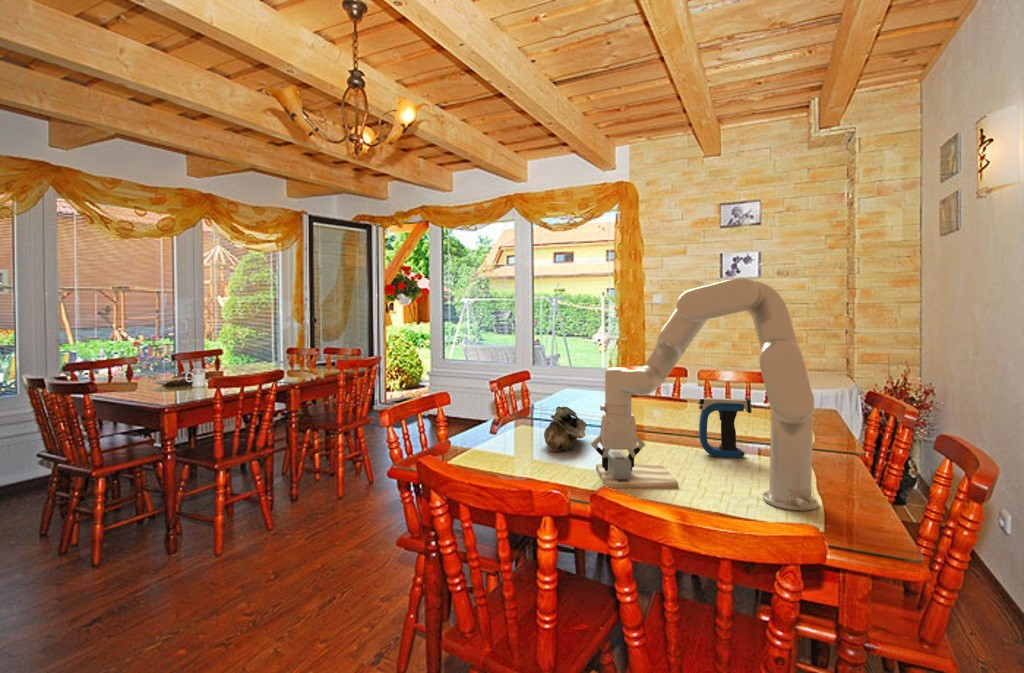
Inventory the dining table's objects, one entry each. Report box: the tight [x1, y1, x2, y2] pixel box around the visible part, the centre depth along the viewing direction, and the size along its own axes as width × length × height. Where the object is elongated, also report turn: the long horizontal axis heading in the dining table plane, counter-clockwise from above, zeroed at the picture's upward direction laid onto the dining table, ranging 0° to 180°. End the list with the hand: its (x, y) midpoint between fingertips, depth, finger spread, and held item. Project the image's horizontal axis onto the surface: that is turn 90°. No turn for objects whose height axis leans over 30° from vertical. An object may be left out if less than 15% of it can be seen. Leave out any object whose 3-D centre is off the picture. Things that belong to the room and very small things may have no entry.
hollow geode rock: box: [543, 406, 588, 453], centre depth 200 cm, size 28×13×15 cm
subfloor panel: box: [595, 462, 679, 489], centre depth 161 cm, size 18×20×2 cm
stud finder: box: [607, 450, 631, 479], centre depth 161 cm, size 12×5×5 cm, turn 0°
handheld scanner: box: [698, 397, 753, 459], centre depth 182 cm, size 5×16×20 cm, turn 78°
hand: (617, 469), depth 161 cm, fingers open, 6 cm apart
